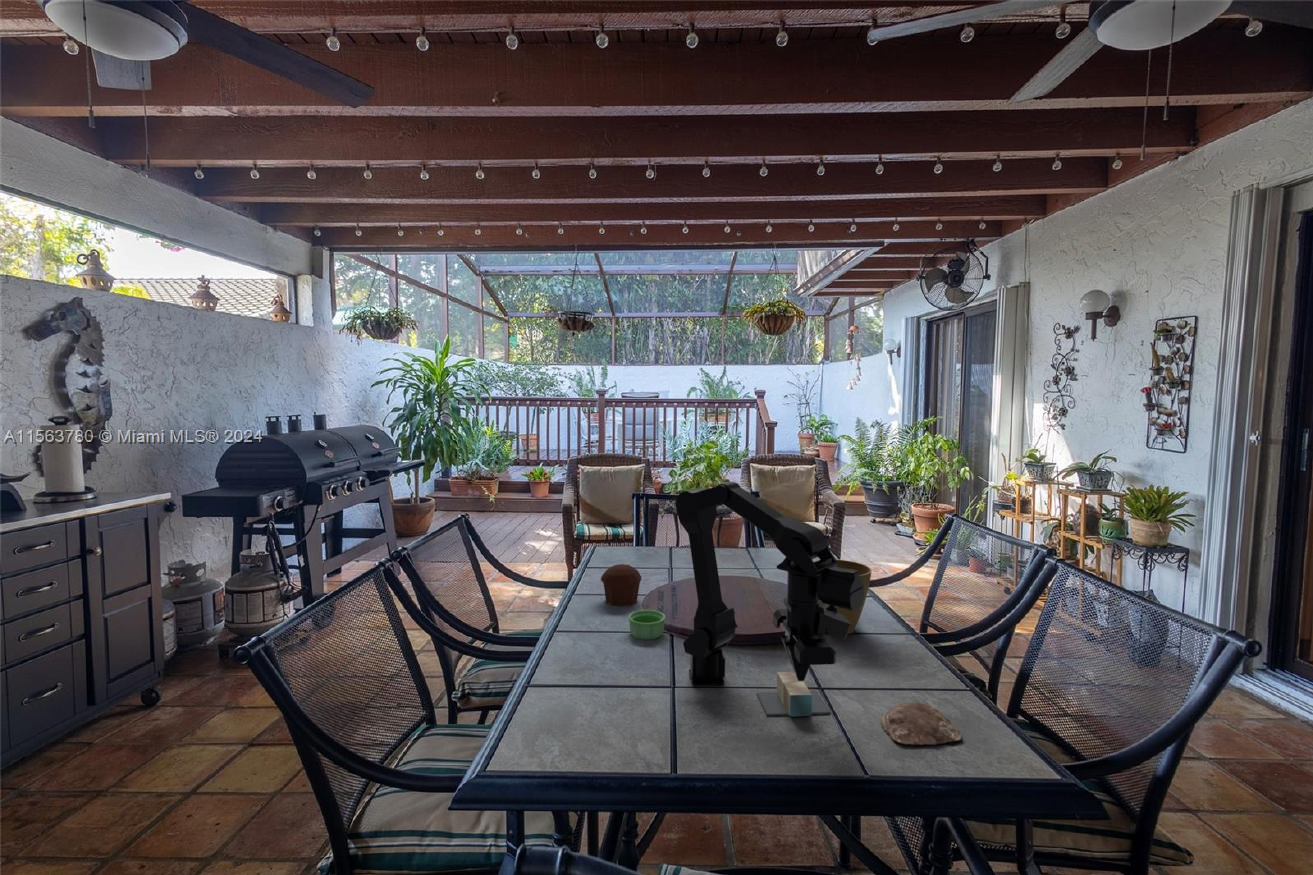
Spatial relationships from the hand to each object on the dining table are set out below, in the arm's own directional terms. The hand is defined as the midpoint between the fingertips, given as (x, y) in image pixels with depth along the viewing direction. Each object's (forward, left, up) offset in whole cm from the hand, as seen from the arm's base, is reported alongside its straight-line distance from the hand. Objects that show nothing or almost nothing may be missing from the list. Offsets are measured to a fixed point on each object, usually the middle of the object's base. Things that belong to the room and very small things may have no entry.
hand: (800, 680), depth 112 cm
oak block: (0, 0, -5) cm, 5 cm away
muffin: (-32, +63, -7) cm, 71 cm away
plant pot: (+22, +40, -7) cm, 46 cm away
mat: (0, +5, -7) cm, 8 cm away
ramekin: (-26, +40, -7) cm, 48 cm away
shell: (+20, -5, -8) cm, 22 cm away
